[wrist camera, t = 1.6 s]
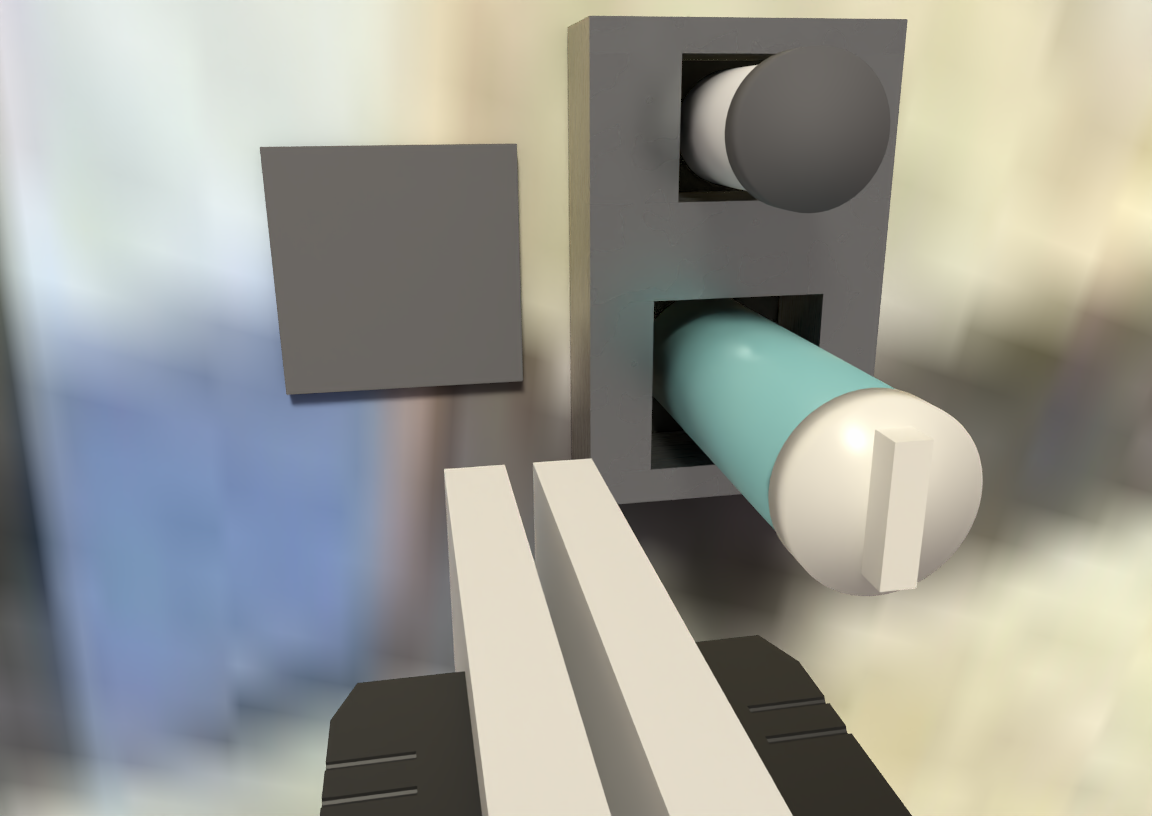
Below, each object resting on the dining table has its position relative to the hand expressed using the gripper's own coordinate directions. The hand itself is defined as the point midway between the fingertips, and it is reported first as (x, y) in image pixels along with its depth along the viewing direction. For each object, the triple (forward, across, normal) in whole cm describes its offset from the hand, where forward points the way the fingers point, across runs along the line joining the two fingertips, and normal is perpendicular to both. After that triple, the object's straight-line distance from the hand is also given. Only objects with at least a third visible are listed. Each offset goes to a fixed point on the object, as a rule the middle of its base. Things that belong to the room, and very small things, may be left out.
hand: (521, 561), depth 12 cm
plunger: (+22, +10, +5) cm, 25 cm away
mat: (+24, -2, 0) cm, 24 cm away
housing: (+24, +10, 0) cm, 27 cm away
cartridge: (+24, +10, -4) cm, 27 cm away
